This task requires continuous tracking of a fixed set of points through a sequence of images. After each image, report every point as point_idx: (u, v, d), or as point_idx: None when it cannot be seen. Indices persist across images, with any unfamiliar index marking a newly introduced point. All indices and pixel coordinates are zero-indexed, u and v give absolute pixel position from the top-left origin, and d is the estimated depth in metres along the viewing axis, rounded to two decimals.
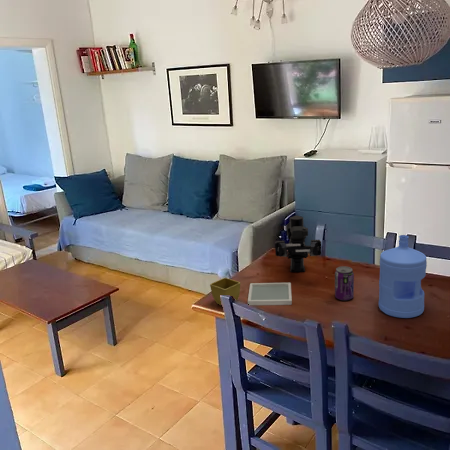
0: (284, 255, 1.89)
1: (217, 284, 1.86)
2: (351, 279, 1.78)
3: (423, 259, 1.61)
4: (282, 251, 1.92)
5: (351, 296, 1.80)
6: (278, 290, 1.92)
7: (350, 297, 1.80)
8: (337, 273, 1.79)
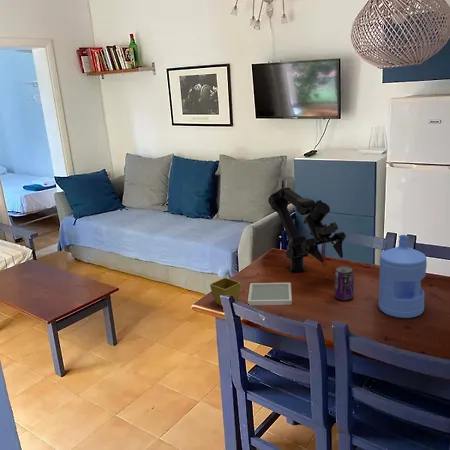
0: (316, 257, 1.86)
1: (217, 284, 1.86)
2: (351, 279, 1.78)
3: (423, 259, 1.61)
4: (311, 249, 1.87)
5: (351, 296, 1.80)
6: (278, 290, 1.92)
7: (350, 297, 1.80)
8: (337, 273, 1.79)
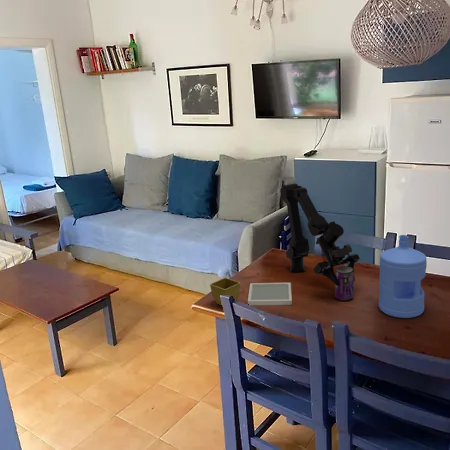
0: (332, 280, 1.81)
1: (217, 284, 1.86)
2: (351, 279, 1.78)
3: (423, 259, 1.61)
4: (327, 272, 1.82)
5: (351, 296, 1.80)
6: (278, 290, 1.92)
7: (350, 297, 1.80)
8: (337, 273, 1.79)
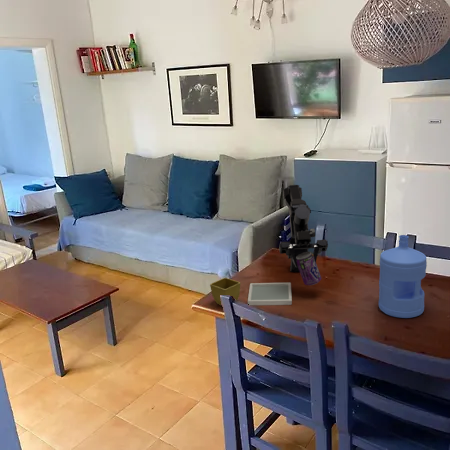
0: (292, 261, 1.85)
1: (217, 284, 1.86)
2: (308, 264, 1.80)
3: (423, 259, 1.61)
4: (290, 252, 1.86)
5: (314, 281, 1.81)
6: (278, 290, 1.92)
7: (313, 282, 1.81)
8: None
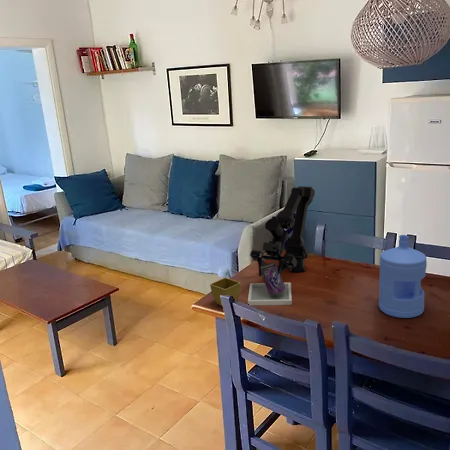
0: None
1: (217, 284, 1.86)
2: (267, 274, 1.84)
3: (423, 259, 1.61)
4: None
5: (274, 291, 1.84)
6: None
7: (273, 292, 1.84)
8: None
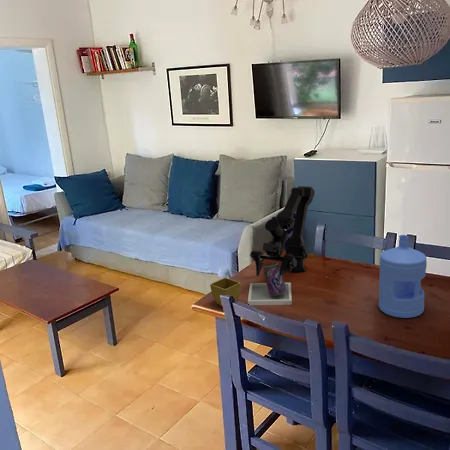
0: None
1: (217, 284, 1.86)
2: (270, 274, 1.83)
3: (423, 259, 1.61)
4: None
5: (274, 292, 1.84)
6: None
7: (273, 292, 1.84)
8: None
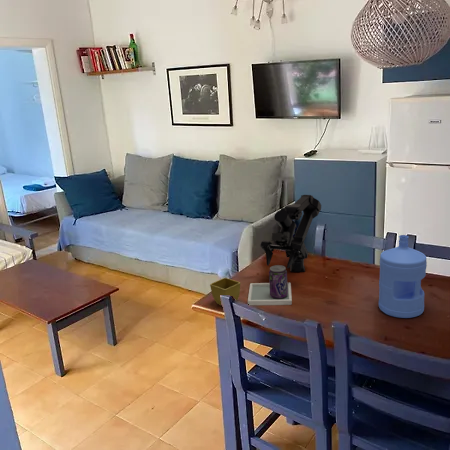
0: None
1: (217, 284, 1.86)
2: (276, 279, 1.82)
3: (423, 259, 1.61)
4: None
5: (277, 295, 1.84)
6: None
7: (275, 296, 1.84)
8: None
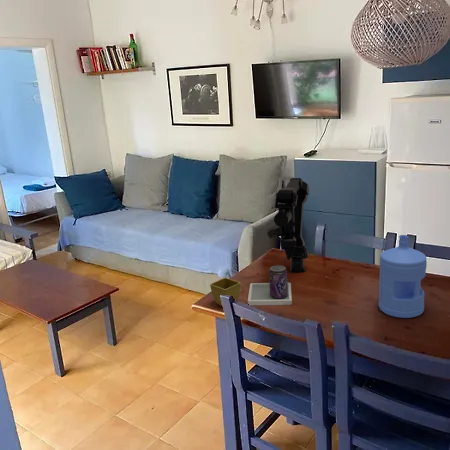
0: None
1: (217, 284, 1.86)
2: (276, 279, 1.82)
3: (423, 259, 1.61)
4: None
5: (277, 295, 1.84)
6: None
7: (275, 296, 1.84)
8: None
